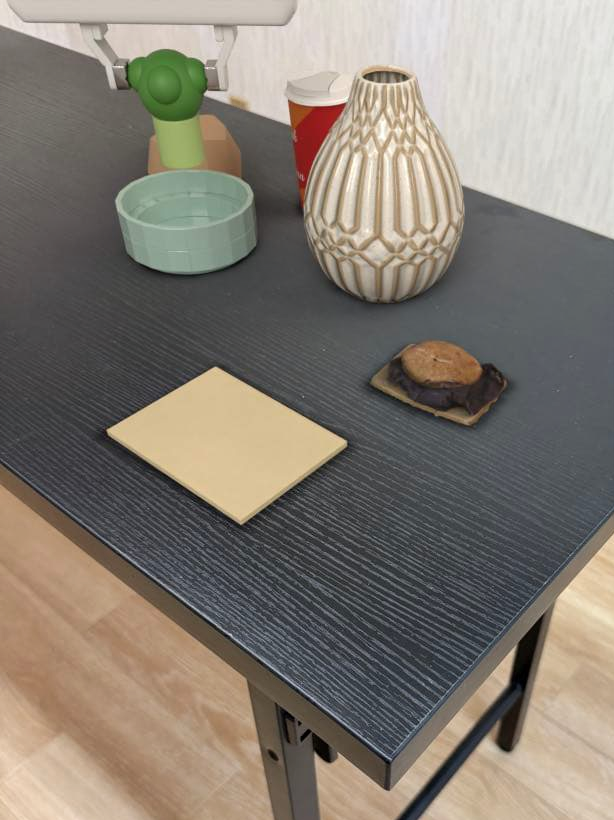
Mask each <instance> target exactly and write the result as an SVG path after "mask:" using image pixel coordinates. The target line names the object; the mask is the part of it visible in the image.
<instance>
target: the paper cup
mask: <svg viewBox="0 0 614 820" xmlns="http://www.w3.org/2000/svg"><path fill="white" fill-rule="evenodd" d="M352 83H353V82H352V80H351V78H350V77H349V76H348V75H347V74H345V73H341V74H340V72H339V71H333V70H328V71H327V69H323V68H321V69H320V68H318V69H317V68H315V69H314V68H313V69H303V70H300V71H297V72H294V73H292V74H290V76H288V78H287V80H286V87H285V89H284V91H283V95H284V97H285V98H286V99H287V105H288V112H289V113H288V114H289V121H290V130H291V136H292V145H293V155H294V162H295V170H296V177H297V178H296V179H297V185H298V186H297V187H298V193H299V199H300V206H301V210H302V211H303V204H304V196H305V190H306V185H307V181H308V177H309V173H310V169H311V166H312V164H313V161H314V158H315V156H316V154H317V152H318V150H319V148H320V146H321V144H322V142H323V141H324V139H325V137H326V135H327V134H328V132H329V130H330V129H331V127H332V126H333V124H334V123H335V121H336V120H337V119H338V117H339V116H340V115H341V113H342V111H343V110H344V108H345V106H346V103H347V100H348V98H349V94H350V91H351V87H352Z"/></svg>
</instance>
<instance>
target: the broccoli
mask: <svg viewBox="0 0 614 820" xmlns="http://www.w3.org/2000/svg"><path fill="white" fill-rule="evenodd" d="M205 64H206V63H204V62H203V61H201V60H200V59H198V58H196V57H188V56H187V55H185V54H184V53H182V52H180V51H178V50H176V49H171V48H160V49H157V50H154V51H152V52H150V53H149V54H148V55H146V56H138V57H135V58H133V59H132V60H131V61H130V64H129V66H128V70H127V73H128V75H127V78H128V81H129V83H130V86H131V88H132V90H133V91H134V92H135V93H137V95H138V96H139V97H138V98H139V99H140V101H141V103H142V105H143V106H144V108H145V110H147V111H148V112H149V114H150V115H151V118H152V123H153V129H154V135H156V140H157V145H158V150H159V155H160V160H161V163H162V164H163V165H164V166H166V167H168V168H173V169H189V168H194V167H197V166H199V165H201V164H203V163H204V162H205V159H206V158H205V152H204V145H203V138H202V132H201V125H200V119H199V115H200V113H199V111H200V109H201V107H202V105H203V102H204V96H205V93H206V92H207V91H208V89H207V84H206V83H207V81H208V79H207V78H206V77H205V70H204V66H205Z"/></svg>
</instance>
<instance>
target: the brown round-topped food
mask: <svg viewBox="0 0 614 820" xmlns="http://www.w3.org/2000/svg"><path fill="white" fill-rule="evenodd" d="M369 385H371V386H372V387H374V388H376V389H378V390H379V391H382V392H383V393H385V394H387V395H390V396H391V397H395V398H394V399H395V400H396V399H398V400H400V401H401V402H403V403H405V404H409V405H410V406H412V407H415V408H418V409H420V410H422V411H427V412H428V413H430V414H433V415H434V416H435V417H443V418H445V419H447V420H451V421H453V422H454V423H455V422H456V423H457V424H461V425H465V426H468V427H469V426H472V425H474V424H475V423H477V422H478V420H479V419H481V417H482V416H483V414H485V413H486V412H487V411H488V410H489V409H490V406H491V405H492V404H493V403H496V401H498V398H499V396H500V395H501V394H502V392H503V391H504V390H505V389H506V388H507V386H508V385H507V381H506V379H505V378H504V375H503V373H502V371H500V370H498V368H497V367H496V366H495V365H494V364H493V363H491V362H484V363H483V364H482V363H479V361H478V360H477V359H476V358H475V357H474V356H473V355H472V354H470V352H468V351H466V350H465V349H463V348H462V347H460V346H459V345H458V344H454V343H451V342H449V341H443V340H435V339H433V340H430V339H429V340H425V341H421V342H419V343H409V344H407V345H406V346H405V347H404V348H403V349H402V350H401V351H400V352H398V354H396V355H395V356H394V357H393V358H392V359H391V360H389V362H387V364H385V366H382V368H381V369H380V370H379V371H378V372H377V373H376V374H375V375H373V376H372V378H371V380H370V384H369Z"/></svg>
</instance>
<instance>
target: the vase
mask: <svg viewBox="0 0 614 820" xmlns="http://www.w3.org/2000/svg"><path fill="white" fill-rule="evenodd" d="M351 83H352V87H351V91H350V94H349V98H348V100H347V103H346V106H345V108H344V110H343V111H342V113H341V115H340V116H339V117H338V119H337V120H336V121H335V123H334V124H333V126H332V127H331V129H330V130H329V132H328V134H327V135H326V137H325V139H324V141H323V142H322V144H321V146H320V148H319V150H318V152H317V154H316V156H315V158H314V161H313V164H312V166H311V169H310V173H309V177H308V181H307V185H306V190H305V196H304V204H303V210H302V217H303V226H304V230H305V235H306V240H307V243H308V246H309V249H310V251H311V253H312V255H313V257H314V259H315V261H316V263H317V264H318V266H319V268H320V269H321V271H322V272H323V273H324V274H325V276H326V277H327V278H328V279H329V280H330V281H331V282H332V283H333V284H335V286H337V287H338V288H340V289H341V290H342V291H344V292H345V293H348V294H349V295H351V296H353V297H354V298H356V299H359V300H362V301H366V302H370V303H377V304H393V303H394V304H395V303H400V302H404V301H407V300H411V299H412V298H414V297H417V296H418V295H420V294H423V292H425V291H427V290H428V289H430V288H431V287H432V286H433V285H434V284H436V283H437V282H438V281H439V280H440V279H441V278H442V276H444V274H446V271H447V270H448V269H449V267H450V265H451V264H452V262H453V260H454V258H455V256H456V254H457V252H458V249H459V246H460V244H461V240H462V236H463V235H462V234H463V232H464V227H465V226H464V225H465V217H466V215H465V214H466V213H465V212H466V211H465V200H464V199H465V198H464V193H463V187H462V182H461V177H460V173H459V171H458V168H457V164H456V162H455V160H454V156H453V154H452V152H451V150H450V149H449V147H448V144H447V142H446V141H445V138H444V137H443V135H442V133H441V132H440V130H439V129H438V126H437V125H436V123H435V122H434V121H433V120H432V118H431V116H430V115H429V113H428V110H427V109H426V106H425V102H424V100H423V97H422V92H421V89H420V84H419V79H418V77H417V75H416V73H415V72H414V71H413V70H412V69H409V68H407V67H404V66H401V65H395V64H372V65H367V66H364V67H362V68H360V69H359V70H357V71H356V73H355V74H354V76H353V80H352V82H351Z"/></svg>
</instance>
